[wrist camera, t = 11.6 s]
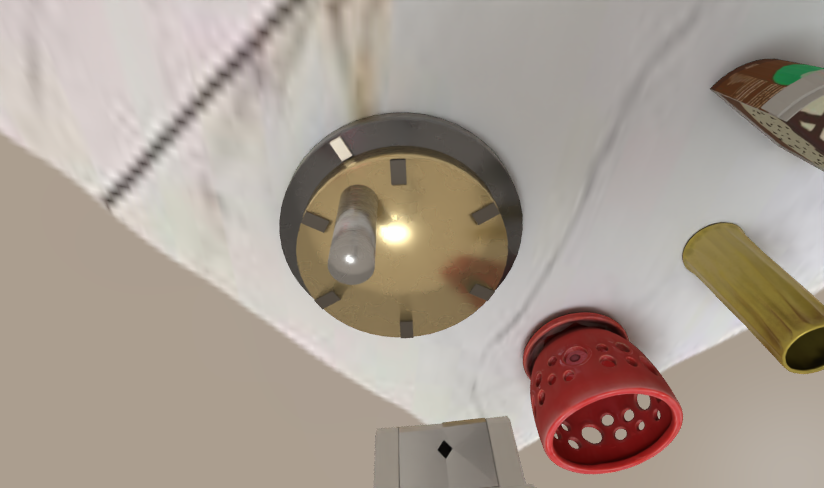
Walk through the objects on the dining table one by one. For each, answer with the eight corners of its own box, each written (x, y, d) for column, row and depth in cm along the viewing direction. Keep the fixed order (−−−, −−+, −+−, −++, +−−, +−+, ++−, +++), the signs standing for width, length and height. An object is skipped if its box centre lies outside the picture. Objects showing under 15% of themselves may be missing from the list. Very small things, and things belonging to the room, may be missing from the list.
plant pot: (499, 378, 58) (523, 472, 48) (540, 291, 51) (578, 378, 41) (600, 392, 60) (644, 485, 50) (652, 311, 53) (714, 399, 43)
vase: (698, 283, 51) (794, 389, 39) (670, 248, 49) (762, 350, 37) (754, 248, 49) (873, 349, 37) (727, 210, 47) (845, 305, 35)
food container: (851, 96, 41) (971, 136, 33) (788, 154, 44) (883, 206, 35) (761, 9, 37) (870, 30, 29) (698, 79, 40) (780, 116, 32)
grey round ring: (437, 57, 38) (439, 64, 36) (556, 250, 48) (563, 263, 47) (232, 202, 44) (225, 214, 42) (376, 347, 54) (376, 362, 52)
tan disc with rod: (533, 263, 46) (573, 355, 36) (375, 342, 51) (372, 443, 41) (437, 103, 38) (454, 163, 28) (258, 214, 43) (217, 301, 32)
